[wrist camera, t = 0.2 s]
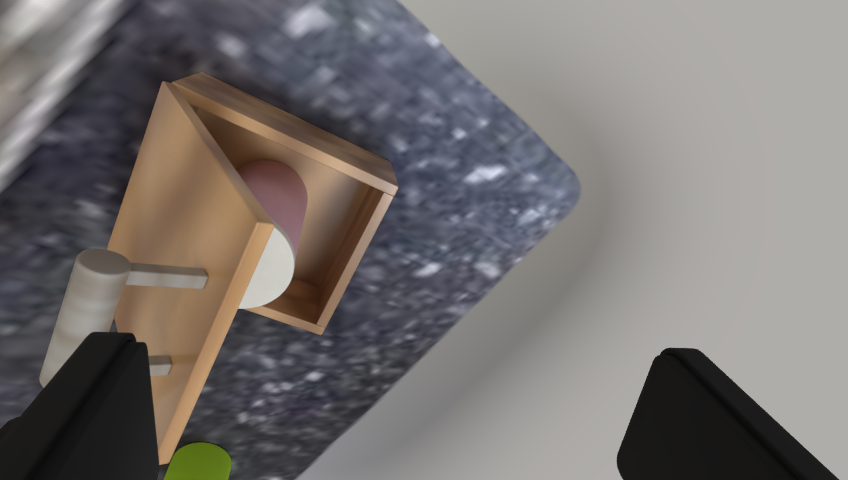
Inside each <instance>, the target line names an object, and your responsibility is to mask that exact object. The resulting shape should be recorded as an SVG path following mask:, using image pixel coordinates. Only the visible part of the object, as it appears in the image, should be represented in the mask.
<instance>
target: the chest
mask: <svg viewBox="0 0 848 480" xmlns="http://www.w3.org/2000/svg"><path fill="white" fill-rule="evenodd" d="M171 84H174V85H176V86H177V88H178V89H179V90H180V92H181V93H182V95H183V96H184V98H185V99H186V100H187V102H188V103H189V105H190V106H191V107H192V109H193V110H194V112H195V113H196V114H197V116H198V117H199V119H200V120H201V121H202V123H203V124H204V126H205V127H206V129H207V130H208V131H209V133H210V134H211V136H212V137H213V138H214V140H215V141H216V143H217V144H218V145H219V147H220V148H221V150H222V151H223V153H224V154H225V155H226V157H227V158H228V160H229V161H230V162H231V164H232V165H233V167H234V168H235V169H236V171H238V170H239V169H240V168H242V167H243V166H245V165H246V164H249V163H251V162H254V161H260V160H270V161H276V162H279V163H282V164H284V165H286V166H288V167H289V168H291V169H292V170H293V171H295V172H296V173H297V174H298V175H299V177H300V178H301V179H302V181H303V183H304V185H305V187H306V191H307V196H308V203H307V208H306V213H305V218H304V222H303V227H302V232H301V236H300V241H299V246H298V250H297V255H296V260H295V268H294V273H293V276H292V279H291V281H290V283H289V285H288V287H287V288H286V290H285V291H284V292H283V293H282V294H281V295H280V296H279V297H277V298H276V299H274V300H273V301H271V302H269V303H267V304H265V305H262V306H259V307H254V308H247V309H245V310H248V311H251V312H254V313H257V314H260V315H263V316H266V317H269V318H272V319H275V320H278V321H281V322H284V323H287V324H289V325H292V326H295V327H298V328H301V329H304V330H307V331H310V332H313V333H316V334H319V335H322V333H323V331H324V330H325V327H326V326H327V324H328V322H329V320H330V318H331V316H332V314H333V312H334V311H335V309H336V307H337V305H338V303H339V301H340V299H341V297H342V295H343V293H344V291H345V289H346V288H347V286H348V284H349V282H350V280H351V278H352V276H353V274H354V272H355V270H356V268H357V266H358V264H359V263H360V261H361V259H362V257H363V255H364V253H365V251H366V249H367V247H368V245H369V243H370V241H371V240H372V238H373V236H374V234H375V232H376V230H377V228H378V226H379V224H380V222H381V220H382V218H383V217H384V215H385V213H386V211H387V209H388V207H389V205H390V203H391V201H392V199H393V197H394V195H395V193H396V192H397V190H398V188H399V186H398V183H397V180H396V177H395V174H394V170H393V167H392V164H391V162H390V161H388V160H386V159H383V158H381V157H379V156H377V155H375V154H373V153H371V152H369V151H367V150H365V149H363V148H360V147H358V146H356V145H354V144H352V143H350V142H348V141H346V140H344V139H342V138H340V137H337V136H335V135H333V134H331V133H329V132H327V131H325V130H323V129H321V128H319V127H317V126H314V125H312V124H310V123H308V122H306V121H304V120H302V119H300V118H298V117H296V116H294V115H291V114H289V113H287V112H285V111H283V110H281V109H279V108H277V107H275V106H273V105H271V104H268V103H266V102H264V101H262V100H260V99H258V98H256V97H254V96H252V95H250V94H248V93H245V92H243V91H241V90H239V89H237V88H235V87H233V86H231V85H229V84H227V83H225V82H222V81H220V80H218V79H216V78H214V77H212V76H210V75H208V74H206V73H204V72H199V73H196V74H194V75H191V76H188V77H185V78H182V79H179V80H176V81H173V82H172V83H171Z"/></svg>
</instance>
